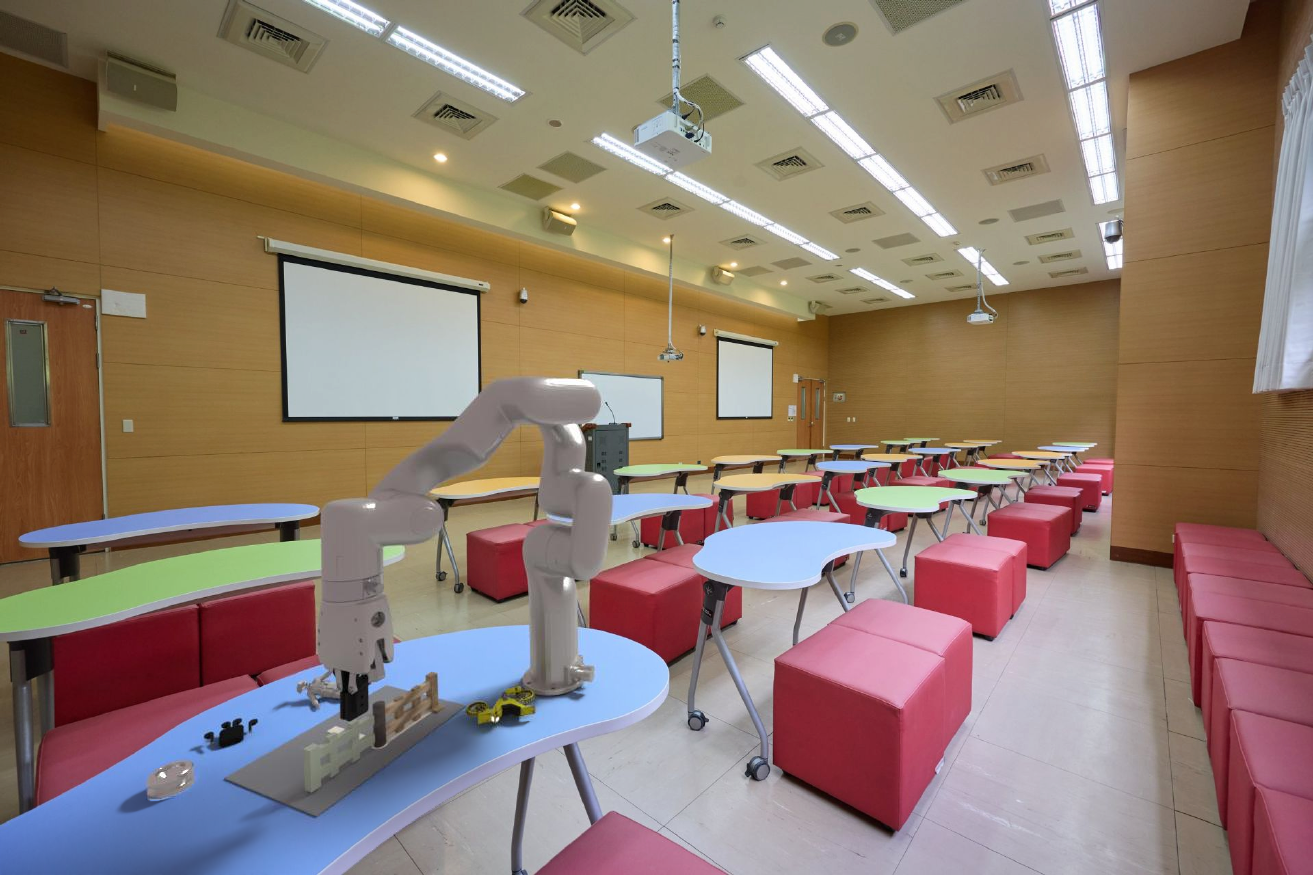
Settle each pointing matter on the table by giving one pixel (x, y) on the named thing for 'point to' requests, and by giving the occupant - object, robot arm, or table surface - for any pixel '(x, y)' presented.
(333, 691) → the soldier figure
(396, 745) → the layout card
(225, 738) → the wireless earbuds
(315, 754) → the fence swing section
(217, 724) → the table surface
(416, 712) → the fence fixed section
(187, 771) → the grooved metal pulley
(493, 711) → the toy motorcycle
